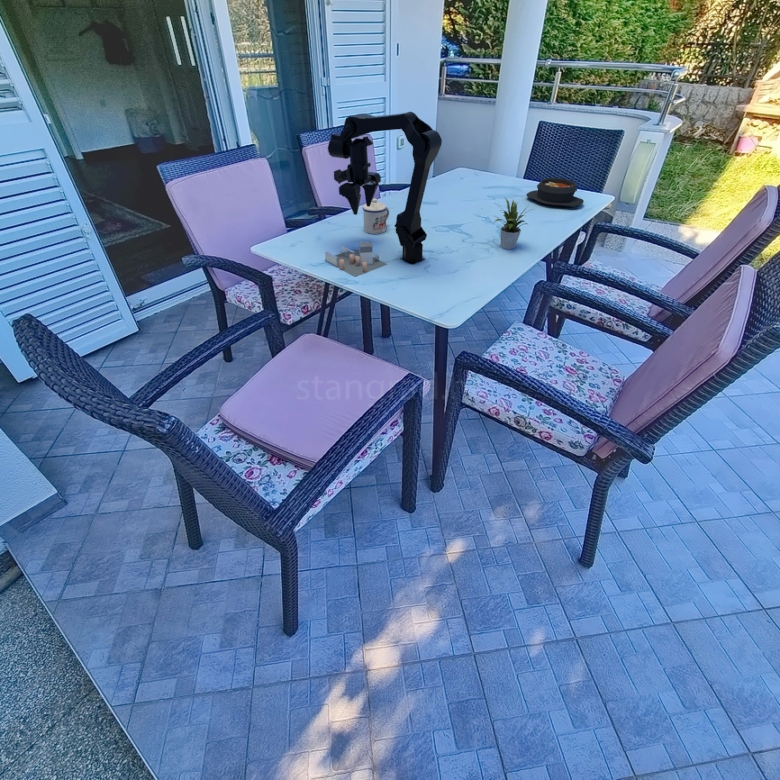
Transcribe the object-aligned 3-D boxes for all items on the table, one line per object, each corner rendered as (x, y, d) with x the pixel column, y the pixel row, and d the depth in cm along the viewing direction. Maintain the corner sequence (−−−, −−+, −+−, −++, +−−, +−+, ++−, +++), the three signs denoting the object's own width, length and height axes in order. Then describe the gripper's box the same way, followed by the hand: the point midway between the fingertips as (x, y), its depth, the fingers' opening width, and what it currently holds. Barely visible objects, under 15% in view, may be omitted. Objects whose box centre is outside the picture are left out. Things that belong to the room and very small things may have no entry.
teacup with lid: (374, 236, 169) (373, 204, 161) (358, 230, 174) (357, 199, 166) (396, 228, 175) (397, 197, 168) (380, 222, 180) (380, 192, 173)
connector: (371, 258, 152) (371, 241, 148) (372, 263, 149) (372, 246, 145) (360, 259, 152) (359, 242, 148) (360, 264, 149) (359, 246, 145)
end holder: (355, 260, 151) (354, 251, 149) (337, 266, 147) (336, 258, 145) (343, 254, 155) (342, 245, 153) (325, 260, 151) (324, 251, 149)
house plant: (478, 240, 165) (484, 194, 155) (510, 235, 169) (518, 190, 158) (498, 255, 155) (506, 207, 144) (532, 249, 159) (542, 202, 148)
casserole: (588, 202, 198) (594, 182, 192) (572, 214, 187) (577, 193, 181) (536, 192, 210) (540, 172, 204) (518, 202, 199) (521, 182, 194)
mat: (387, 265, 149) (387, 264, 149) (355, 278, 142) (354, 276, 142) (356, 250, 159) (356, 248, 158) (324, 261, 152) (324, 260, 151)
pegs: (386, 264, 149) (386, 255, 147) (353, 276, 142) (353, 267, 140) (369, 255, 154) (369, 247, 152) (337, 267, 147) (336, 258, 145)
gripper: (351, 152, 152) (355, 199, 162) (321, 165, 139) (327, 215, 149) (380, 154, 148) (382, 203, 158) (352, 168, 135) (356, 220, 145)
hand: (362, 210), depth 153 cm, fingers open, 9 cm apart
